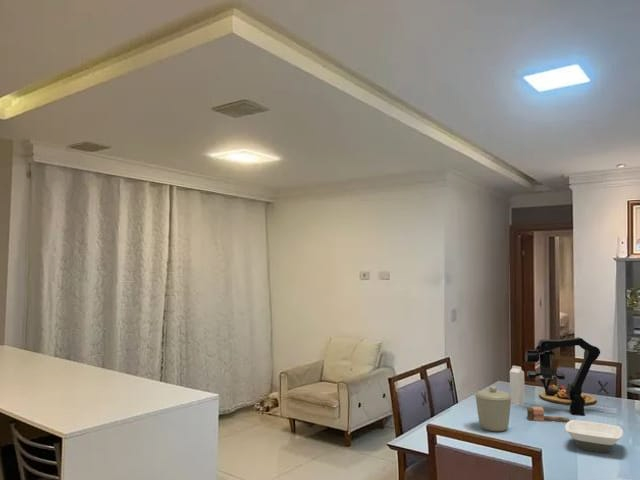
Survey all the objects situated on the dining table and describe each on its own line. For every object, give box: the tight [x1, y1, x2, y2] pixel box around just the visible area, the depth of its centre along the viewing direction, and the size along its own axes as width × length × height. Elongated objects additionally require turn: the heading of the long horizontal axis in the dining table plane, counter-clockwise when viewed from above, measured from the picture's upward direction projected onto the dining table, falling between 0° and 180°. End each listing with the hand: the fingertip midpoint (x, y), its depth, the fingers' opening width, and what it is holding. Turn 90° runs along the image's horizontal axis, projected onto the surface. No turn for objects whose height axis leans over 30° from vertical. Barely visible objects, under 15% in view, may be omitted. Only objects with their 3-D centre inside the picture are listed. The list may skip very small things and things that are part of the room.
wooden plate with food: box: [538, 384, 597, 406], centre depth 313 cm, size 32×32×8 cm
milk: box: [509, 365, 526, 406], centre depth 303 cm, size 6×6×22 cm
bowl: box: [564, 419, 624, 454], centre depth 226 cm, size 22×23×8 cm
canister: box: [473, 385, 512, 432], centre depth 254 cm, size 18×18×21 cm
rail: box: [526, 406, 571, 424], centre depth 268 cm, size 20×7×5 cm, turn 73°
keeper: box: [531, 405, 545, 422], centre depth 270 cm, size 5×7×6 cm
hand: (546, 390), depth 283 cm, fingers closed
